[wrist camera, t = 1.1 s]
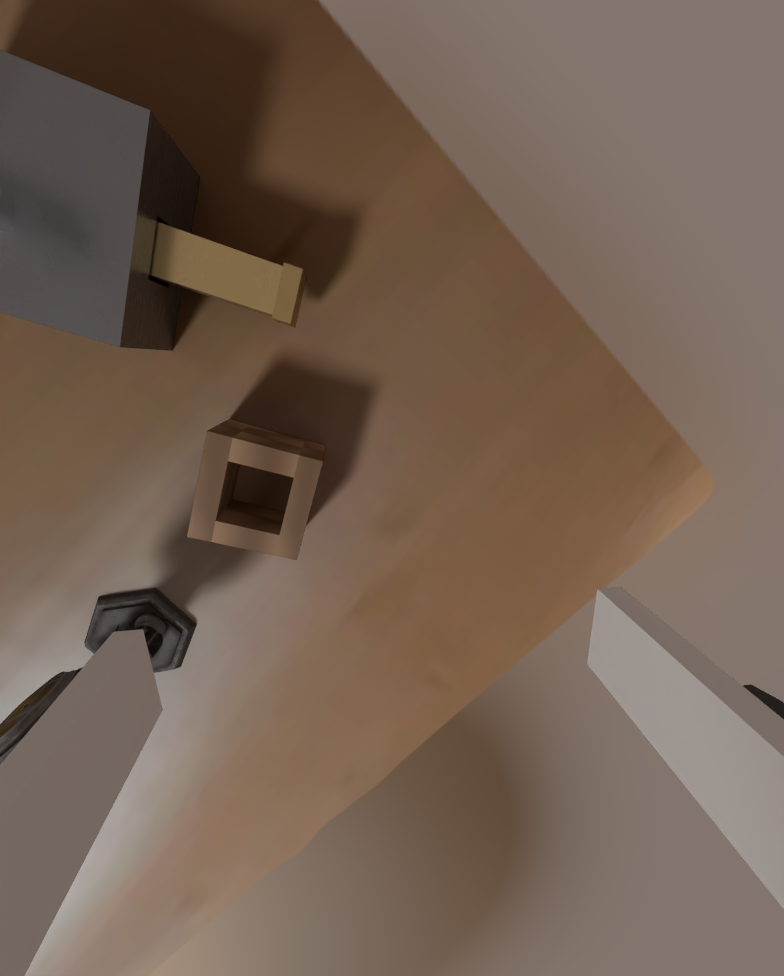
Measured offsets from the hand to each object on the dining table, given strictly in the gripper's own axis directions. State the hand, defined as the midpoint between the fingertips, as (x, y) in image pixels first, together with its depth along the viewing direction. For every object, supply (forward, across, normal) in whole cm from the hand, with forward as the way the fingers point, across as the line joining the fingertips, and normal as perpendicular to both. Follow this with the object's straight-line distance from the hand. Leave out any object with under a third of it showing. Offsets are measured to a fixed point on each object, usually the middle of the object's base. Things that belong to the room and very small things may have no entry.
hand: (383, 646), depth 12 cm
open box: (+25, -8, -1) cm, 26 cm away
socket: (+25, -17, +17) cm, 35 cm away
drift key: (+22, -8, +13) cm, 27 cm away
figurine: (+25, -21, -16) cm, 36 cm away
